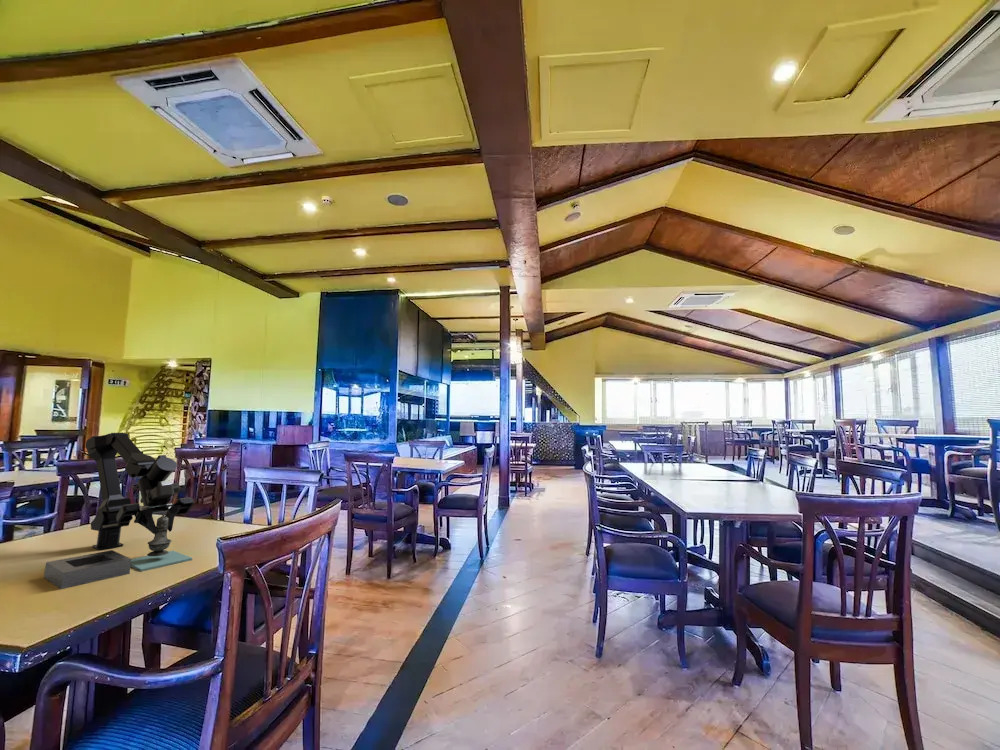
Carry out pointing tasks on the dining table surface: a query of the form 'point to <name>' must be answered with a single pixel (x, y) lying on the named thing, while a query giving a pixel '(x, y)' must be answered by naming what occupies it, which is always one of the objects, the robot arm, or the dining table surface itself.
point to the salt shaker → (160, 538)
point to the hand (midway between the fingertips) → (163, 532)
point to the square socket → (86, 568)
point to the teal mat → (158, 561)
